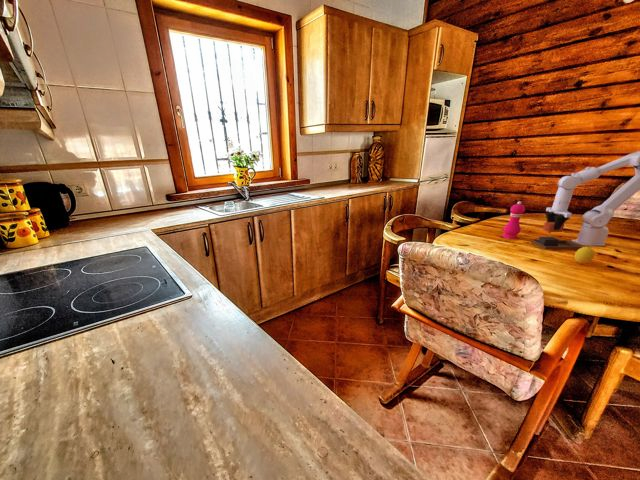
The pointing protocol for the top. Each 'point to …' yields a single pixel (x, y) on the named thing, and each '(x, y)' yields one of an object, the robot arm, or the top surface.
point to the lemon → (584, 255)
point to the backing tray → (559, 245)
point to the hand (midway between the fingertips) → (552, 228)
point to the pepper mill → (514, 221)
